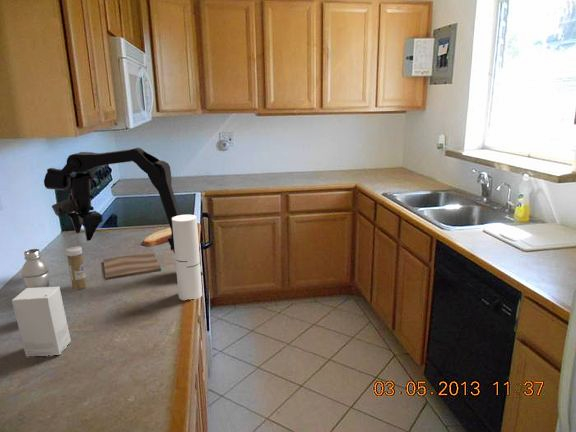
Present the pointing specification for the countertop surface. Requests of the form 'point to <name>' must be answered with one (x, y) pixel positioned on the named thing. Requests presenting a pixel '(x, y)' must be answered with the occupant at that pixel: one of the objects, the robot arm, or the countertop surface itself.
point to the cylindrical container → (187, 256)
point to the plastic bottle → (35, 270)
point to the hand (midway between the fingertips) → (83, 236)
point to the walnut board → (130, 265)
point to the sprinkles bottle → (76, 267)
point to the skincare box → (41, 321)
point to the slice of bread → (157, 238)
